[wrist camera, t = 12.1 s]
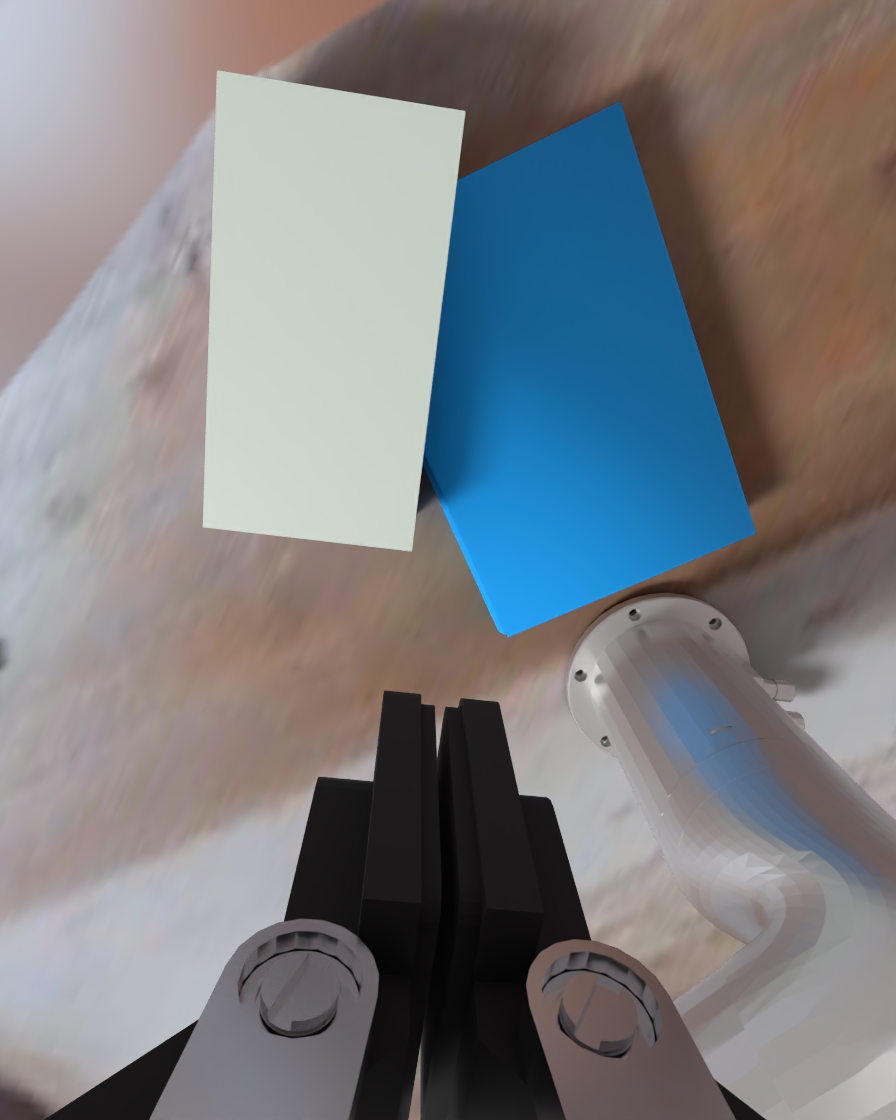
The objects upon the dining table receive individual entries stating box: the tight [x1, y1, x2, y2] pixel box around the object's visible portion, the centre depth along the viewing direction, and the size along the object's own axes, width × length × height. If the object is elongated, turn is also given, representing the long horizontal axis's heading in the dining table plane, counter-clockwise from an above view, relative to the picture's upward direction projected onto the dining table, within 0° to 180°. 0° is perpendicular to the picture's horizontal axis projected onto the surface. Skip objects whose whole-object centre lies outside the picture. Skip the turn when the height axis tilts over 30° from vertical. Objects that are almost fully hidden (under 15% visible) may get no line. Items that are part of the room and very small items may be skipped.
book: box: [422, 102, 756, 637], centre depth 42 cm, size 17×4×25 cm
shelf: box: [203, 71, 465, 551], centre depth 38 cm, size 11×21×8 cm, turn 172°
